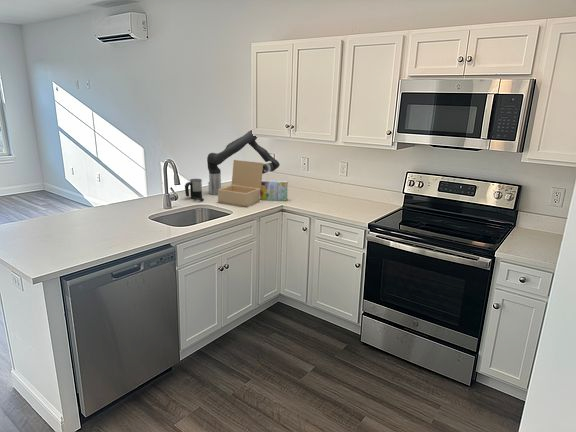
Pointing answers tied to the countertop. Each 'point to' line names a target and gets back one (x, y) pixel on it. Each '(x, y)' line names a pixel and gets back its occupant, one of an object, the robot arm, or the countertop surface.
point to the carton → (239, 195)
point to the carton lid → (247, 174)
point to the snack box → (273, 190)
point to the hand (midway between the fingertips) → (253, 171)
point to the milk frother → (194, 189)
